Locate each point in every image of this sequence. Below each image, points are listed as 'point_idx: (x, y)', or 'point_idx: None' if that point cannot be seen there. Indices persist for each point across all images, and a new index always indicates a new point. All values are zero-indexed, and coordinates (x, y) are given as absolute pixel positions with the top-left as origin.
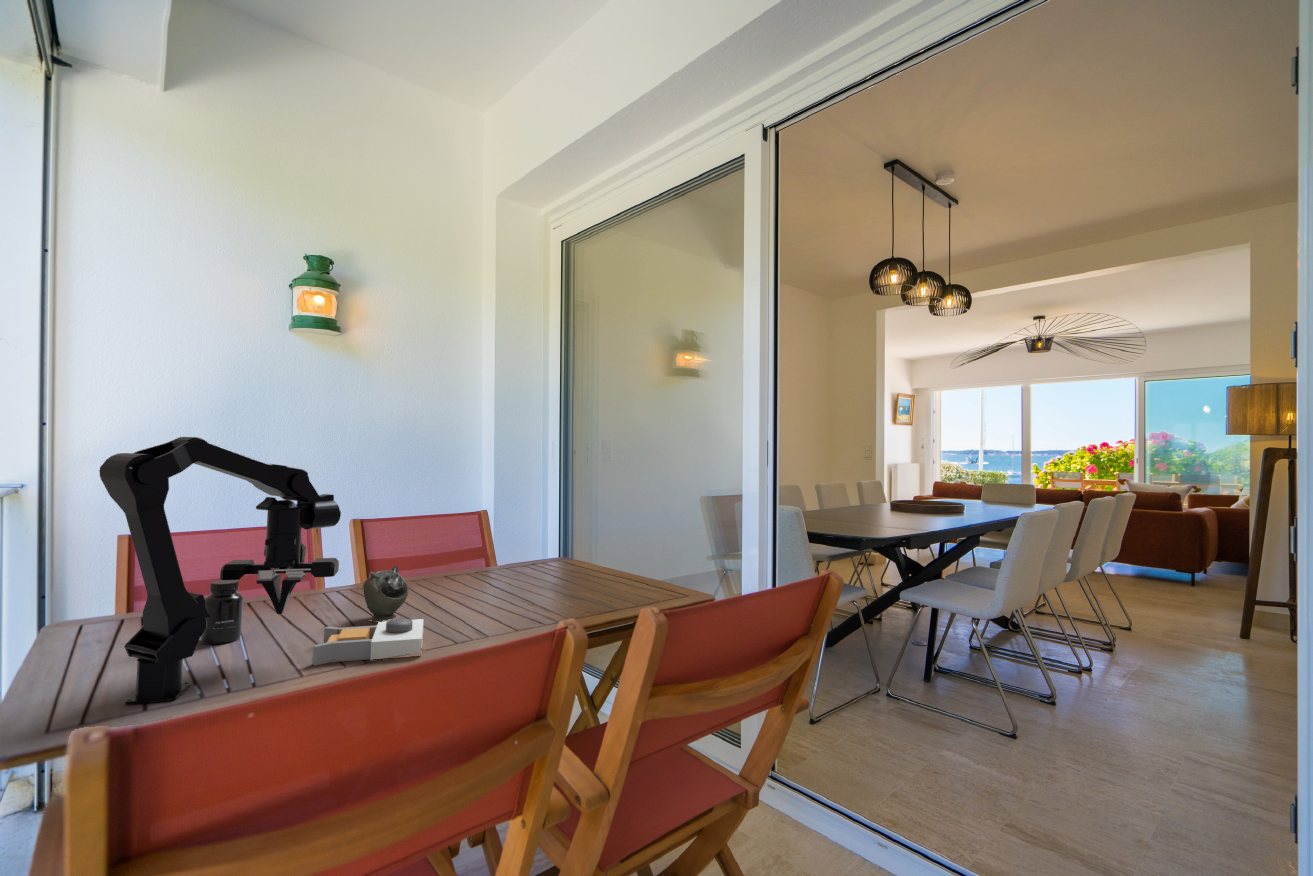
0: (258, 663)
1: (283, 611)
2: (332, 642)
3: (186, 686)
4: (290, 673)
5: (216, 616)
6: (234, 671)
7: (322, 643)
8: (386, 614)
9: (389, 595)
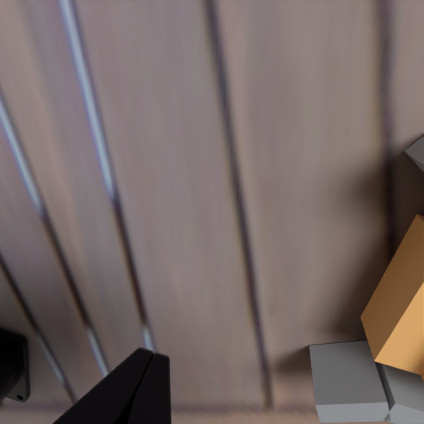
0: (153, 253)
1: (168, 367)
2: (393, 412)
3: (23, 361)
4: (242, 376)
5: None
6: (99, 288)
7: (353, 404)
8: None
9: None
